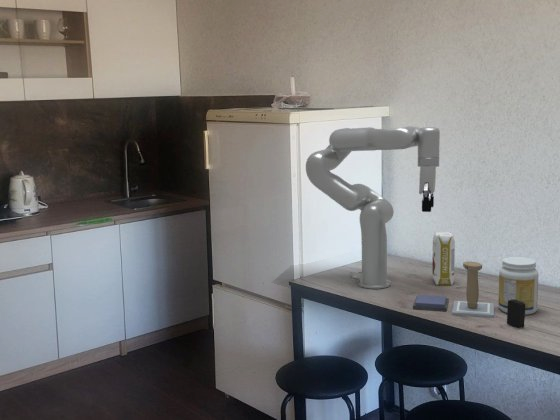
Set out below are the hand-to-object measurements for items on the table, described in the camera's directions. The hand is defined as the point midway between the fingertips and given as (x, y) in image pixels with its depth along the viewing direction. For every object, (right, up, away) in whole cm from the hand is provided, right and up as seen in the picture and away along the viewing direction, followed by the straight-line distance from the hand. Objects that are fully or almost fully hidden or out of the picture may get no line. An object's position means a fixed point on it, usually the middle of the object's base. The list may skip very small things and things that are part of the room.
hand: (427, 209), depth 243 cm
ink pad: (-2, -33, -13) cm, 35 cm away
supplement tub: (+25, -34, -20) cm, 47 cm away
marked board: (+11, -34, -19) cm, 40 cm away
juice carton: (+9, -28, +14) cm, 33 cm away
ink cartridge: (+20, -36, -35) cm, 54 cm away
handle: (+11, -33, -18) cm, 39 cm away
